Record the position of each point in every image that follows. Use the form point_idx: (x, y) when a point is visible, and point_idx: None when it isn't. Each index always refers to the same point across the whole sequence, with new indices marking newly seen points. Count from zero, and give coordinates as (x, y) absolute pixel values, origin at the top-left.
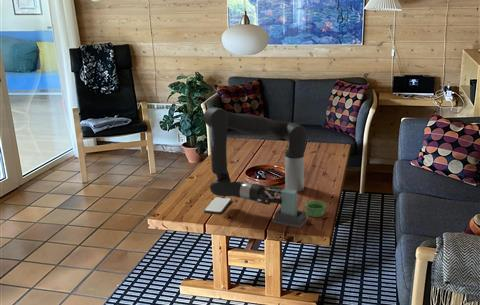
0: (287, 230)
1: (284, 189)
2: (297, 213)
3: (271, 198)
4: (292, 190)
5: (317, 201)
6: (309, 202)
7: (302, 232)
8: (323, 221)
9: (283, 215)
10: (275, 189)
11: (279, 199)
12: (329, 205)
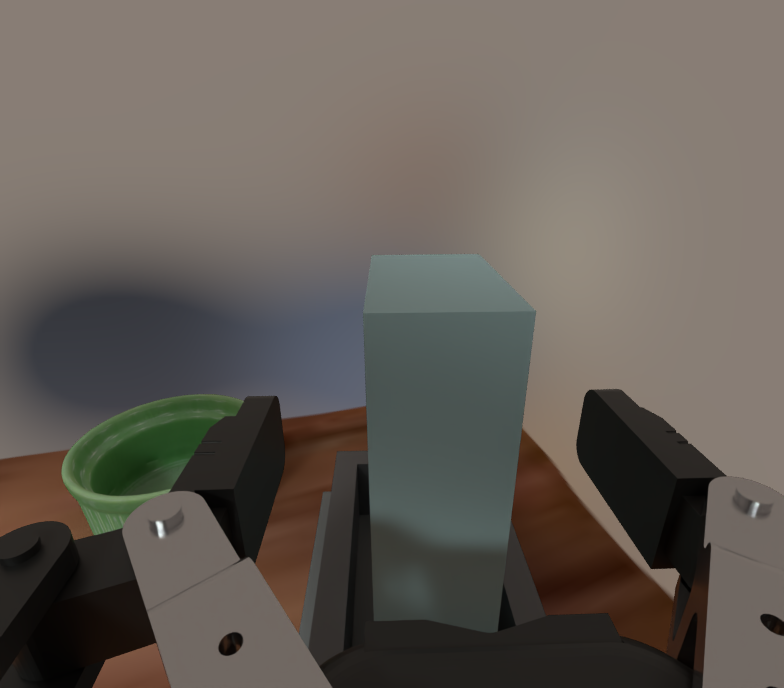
0: (605, 563)
1: (408, 305)
2: (355, 521)
3: (776, 500)
4: (389, 267)
5: (81, 449)
6: (91, 493)
7: (537, 473)
8: (316, 436)
9: (532, 584)
10: (227, 602)
11: (629, 403)
12: (19, 475)
